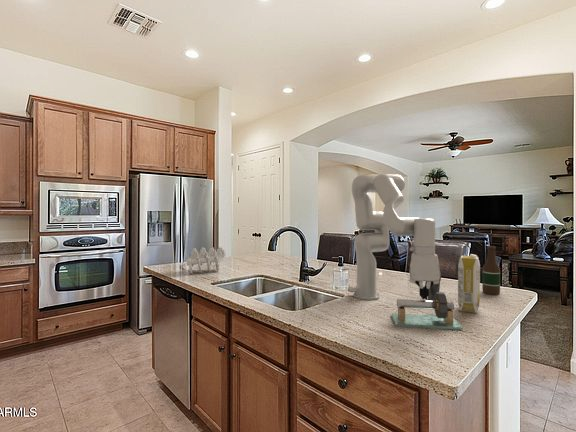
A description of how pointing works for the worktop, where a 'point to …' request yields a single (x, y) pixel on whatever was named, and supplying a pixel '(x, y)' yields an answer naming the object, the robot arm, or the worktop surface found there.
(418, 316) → the teal plate with rod
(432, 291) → the beverage cup
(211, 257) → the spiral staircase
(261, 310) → the worktop surface
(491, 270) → the beer bottle
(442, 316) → the ring
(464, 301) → the juice carton
